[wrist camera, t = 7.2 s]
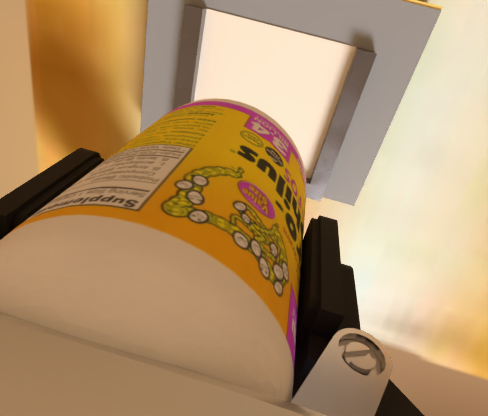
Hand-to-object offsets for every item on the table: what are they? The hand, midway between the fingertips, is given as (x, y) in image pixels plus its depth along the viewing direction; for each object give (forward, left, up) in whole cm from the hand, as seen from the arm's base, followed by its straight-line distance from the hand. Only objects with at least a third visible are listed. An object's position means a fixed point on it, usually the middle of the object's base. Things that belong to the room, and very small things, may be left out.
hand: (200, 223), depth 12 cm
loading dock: (0, -1, -20) cm, 20 cm away
